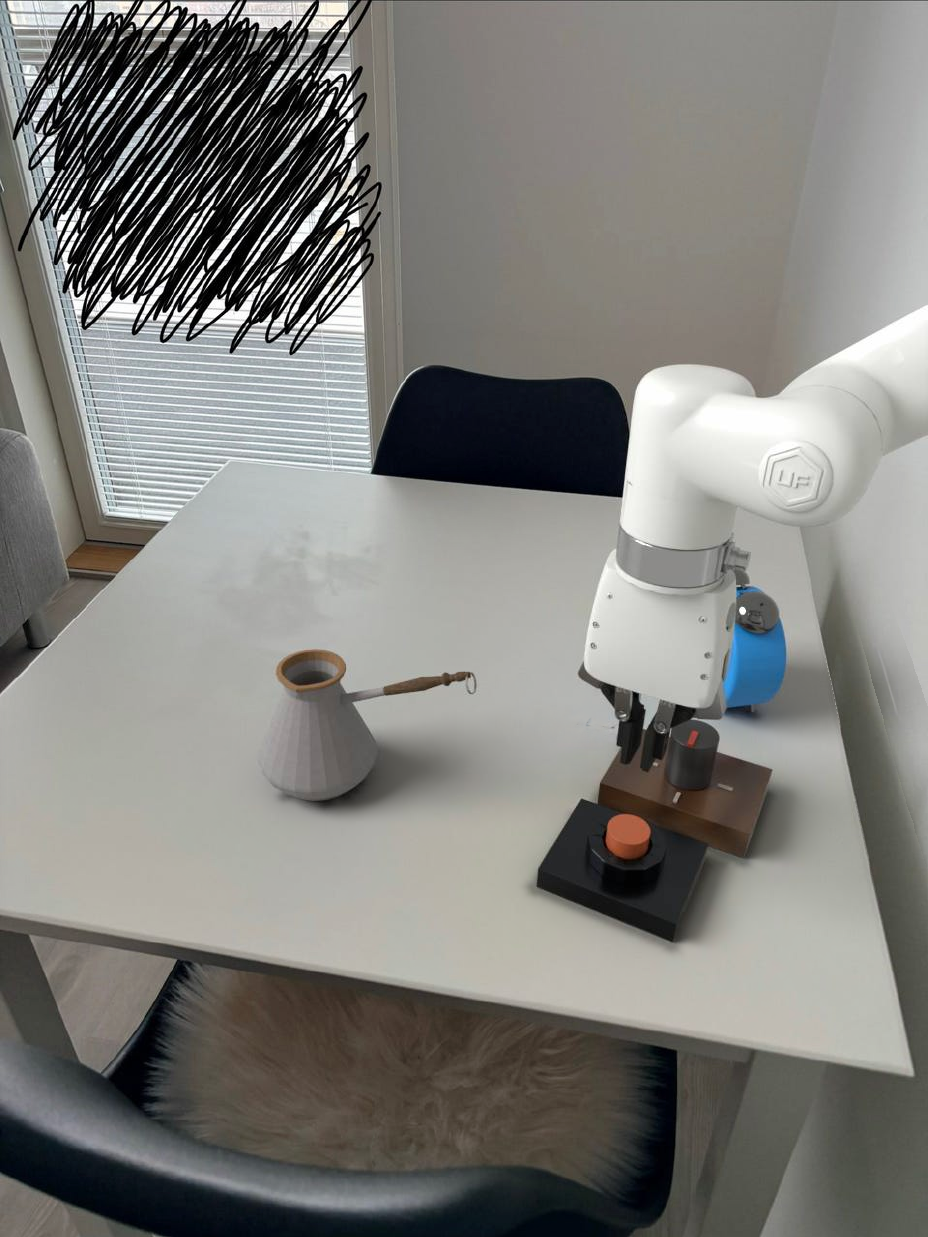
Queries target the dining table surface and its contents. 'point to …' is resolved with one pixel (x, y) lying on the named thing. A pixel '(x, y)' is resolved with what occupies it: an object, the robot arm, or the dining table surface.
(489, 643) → the dining table surface
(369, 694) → the coffee pot
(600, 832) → the black button base
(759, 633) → the alarm clock
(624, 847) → the push knob
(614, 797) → the dial panel
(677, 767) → the dial
